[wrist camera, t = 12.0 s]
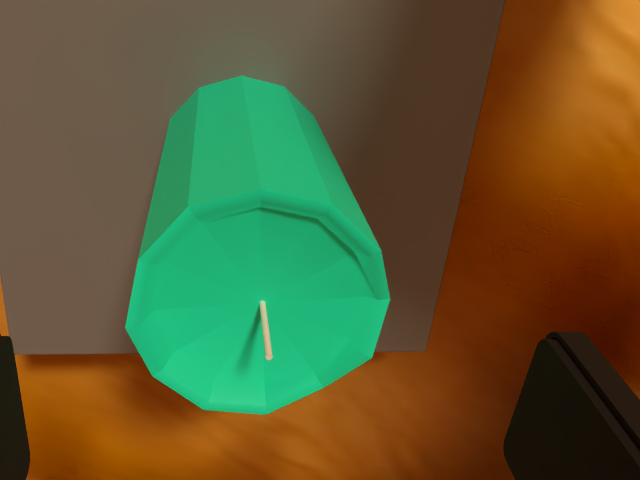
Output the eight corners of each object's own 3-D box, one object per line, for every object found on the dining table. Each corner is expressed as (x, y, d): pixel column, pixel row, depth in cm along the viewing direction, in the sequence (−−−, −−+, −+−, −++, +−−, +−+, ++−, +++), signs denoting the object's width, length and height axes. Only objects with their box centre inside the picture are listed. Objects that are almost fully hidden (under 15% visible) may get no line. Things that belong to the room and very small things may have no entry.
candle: (169, 231, 24) (133, 477, 13) (154, 76, 21) (93, 231, 11) (321, 225, 25) (400, 450, 14) (325, 74, 22) (427, 217, 12)
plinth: (-18, -145, 21) (-65, -158, 17) (478, -81, 24) (523, -81, 21) (36, 301, 29) (11, 354, 25) (402, 304, 32) (425, 351, 29)
